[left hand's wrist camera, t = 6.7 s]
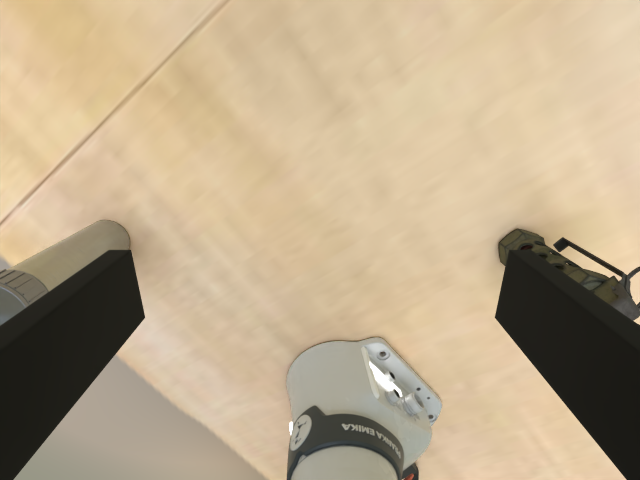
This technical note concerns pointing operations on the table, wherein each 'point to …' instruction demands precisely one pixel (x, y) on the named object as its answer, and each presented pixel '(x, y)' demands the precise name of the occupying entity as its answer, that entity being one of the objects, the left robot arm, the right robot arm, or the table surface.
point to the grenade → (577, 269)
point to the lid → (17, 292)
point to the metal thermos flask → (74, 253)
